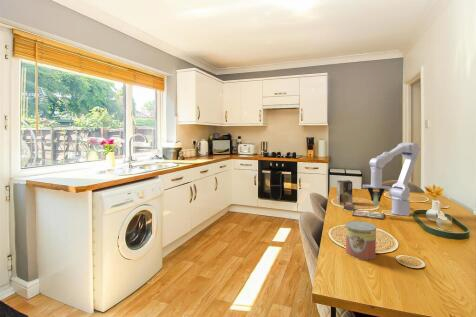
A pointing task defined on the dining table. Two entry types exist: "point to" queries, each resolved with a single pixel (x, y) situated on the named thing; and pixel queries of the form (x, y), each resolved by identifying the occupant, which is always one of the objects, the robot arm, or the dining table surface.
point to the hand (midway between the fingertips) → (375, 200)
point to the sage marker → (375, 198)
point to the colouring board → (368, 214)
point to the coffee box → (344, 191)
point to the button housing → (349, 207)
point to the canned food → (361, 239)
